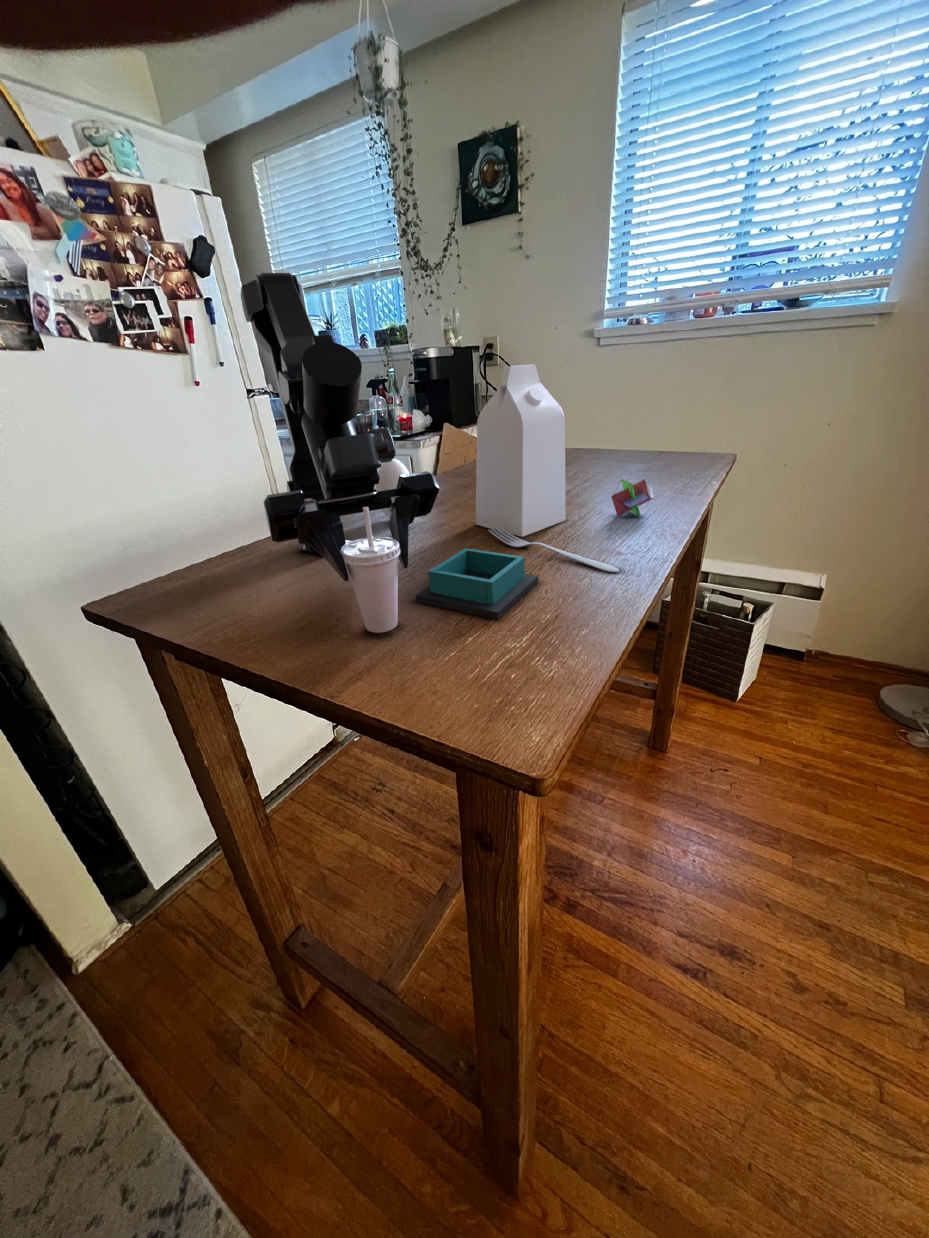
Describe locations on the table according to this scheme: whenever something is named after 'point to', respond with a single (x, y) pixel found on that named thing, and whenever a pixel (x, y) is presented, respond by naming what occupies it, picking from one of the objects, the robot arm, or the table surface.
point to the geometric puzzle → (631, 497)
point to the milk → (520, 456)
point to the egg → (390, 478)
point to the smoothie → (374, 577)
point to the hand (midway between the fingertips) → (376, 573)
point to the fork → (578, 558)
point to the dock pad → (478, 583)
